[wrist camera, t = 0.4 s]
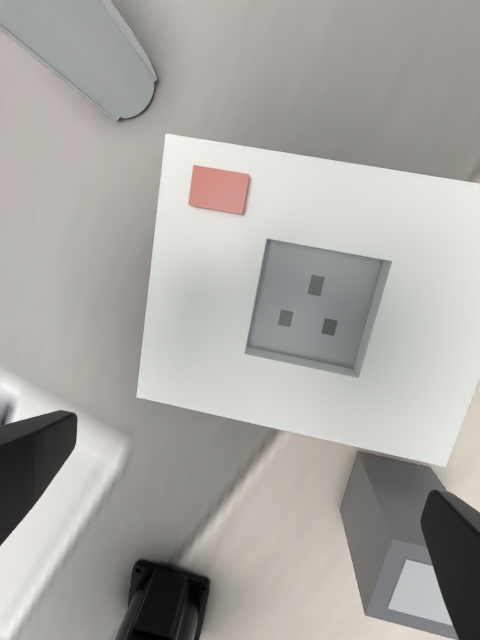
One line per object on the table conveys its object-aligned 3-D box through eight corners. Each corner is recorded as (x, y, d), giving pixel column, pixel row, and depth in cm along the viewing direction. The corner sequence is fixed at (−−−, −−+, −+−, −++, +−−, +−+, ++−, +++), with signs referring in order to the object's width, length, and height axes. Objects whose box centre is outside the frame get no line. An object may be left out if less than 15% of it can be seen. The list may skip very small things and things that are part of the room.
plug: (408, 526, 23) (464, 643, 16) (339, 509, 23) (365, 616, 16) (430, 467, 22) (500, 566, 15) (357, 450, 22) (392, 540, 15)
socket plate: (430, 447, 21) (452, 476, 19) (148, 384, 23) (130, 402, 20) (520, 201, 18) (563, 192, 15) (177, 145, 19) (160, 127, 16)
